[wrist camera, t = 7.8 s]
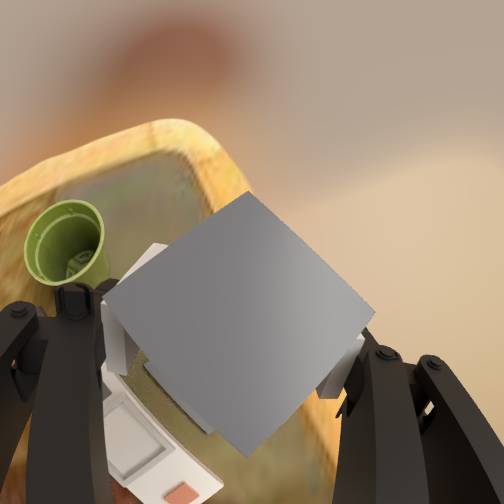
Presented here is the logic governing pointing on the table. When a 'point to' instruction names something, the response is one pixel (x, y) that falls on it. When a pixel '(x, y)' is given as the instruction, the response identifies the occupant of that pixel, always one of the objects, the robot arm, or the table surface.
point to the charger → (240, 319)
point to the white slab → (148, 450)
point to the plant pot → (67, 245)
